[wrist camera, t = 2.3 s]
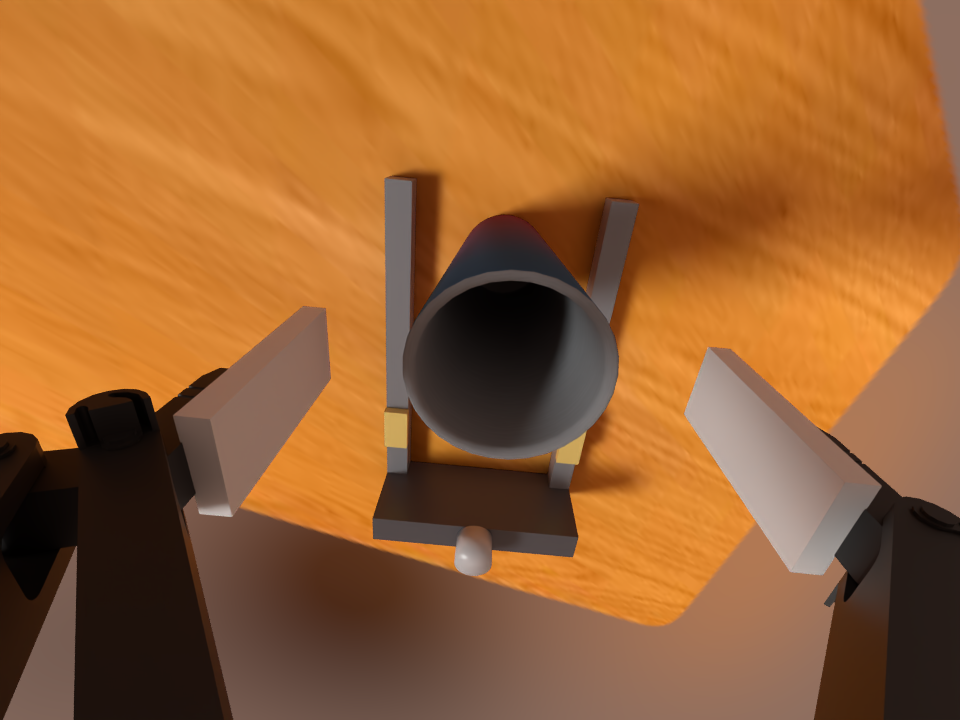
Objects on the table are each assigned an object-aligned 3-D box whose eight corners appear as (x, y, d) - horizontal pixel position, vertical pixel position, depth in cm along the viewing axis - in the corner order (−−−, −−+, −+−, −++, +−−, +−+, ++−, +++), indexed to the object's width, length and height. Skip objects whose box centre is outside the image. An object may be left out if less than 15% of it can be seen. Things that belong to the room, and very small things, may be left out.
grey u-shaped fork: (389, 175, 25) (347, 192, 18) (632, 200, 25) (685, 226, 18) (391, 480, 36) (364, 565, 29) (561, 496, 36) (577, 585, 29)
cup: (581, 240, 26) (666, 348, 13) (517, 326, 29) (534, 488, 16) (487, 174, 25) (475, 221, 12) (428, 272, 28) (365, 400, 14)
